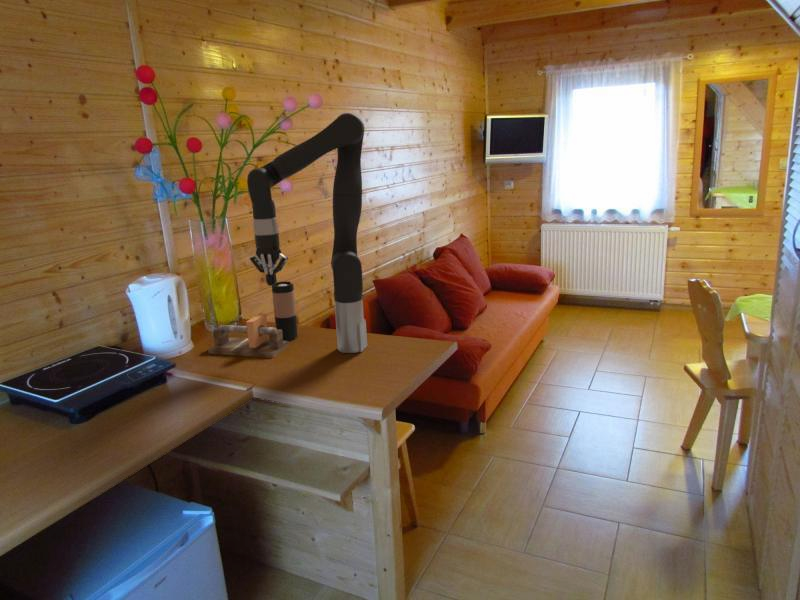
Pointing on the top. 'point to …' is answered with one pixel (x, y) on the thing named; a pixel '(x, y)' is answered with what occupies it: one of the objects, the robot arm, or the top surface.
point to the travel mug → (285, 309)
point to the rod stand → (247, 342)
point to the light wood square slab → (256, 330)
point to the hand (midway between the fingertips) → (271, 285)
